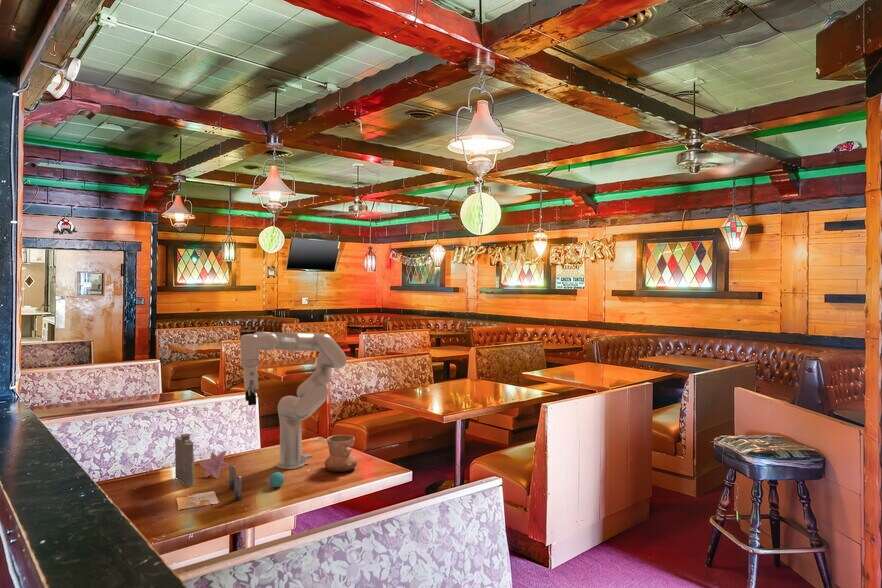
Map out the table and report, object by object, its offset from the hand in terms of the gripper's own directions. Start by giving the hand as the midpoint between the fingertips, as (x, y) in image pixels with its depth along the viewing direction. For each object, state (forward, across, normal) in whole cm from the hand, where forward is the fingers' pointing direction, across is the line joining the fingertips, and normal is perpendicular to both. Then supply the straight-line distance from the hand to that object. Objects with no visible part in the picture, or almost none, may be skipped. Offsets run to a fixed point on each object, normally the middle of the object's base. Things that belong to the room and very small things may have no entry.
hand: (250, 402), depth 244 cm
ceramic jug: (+32, -8, -37) cm, 50 cm away
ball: (+29, -18, -7) cm, 35 cm away
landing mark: (+32, -20, +22) cm, 44 cm away
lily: (+32, +8, +14) cm, 36 cm away
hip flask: (+32, +5, +26) cm, 41 cm away
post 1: (+32, -13, +9) cm, 35 cm away
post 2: (+32, -26, +8) cm, 42 cm away
